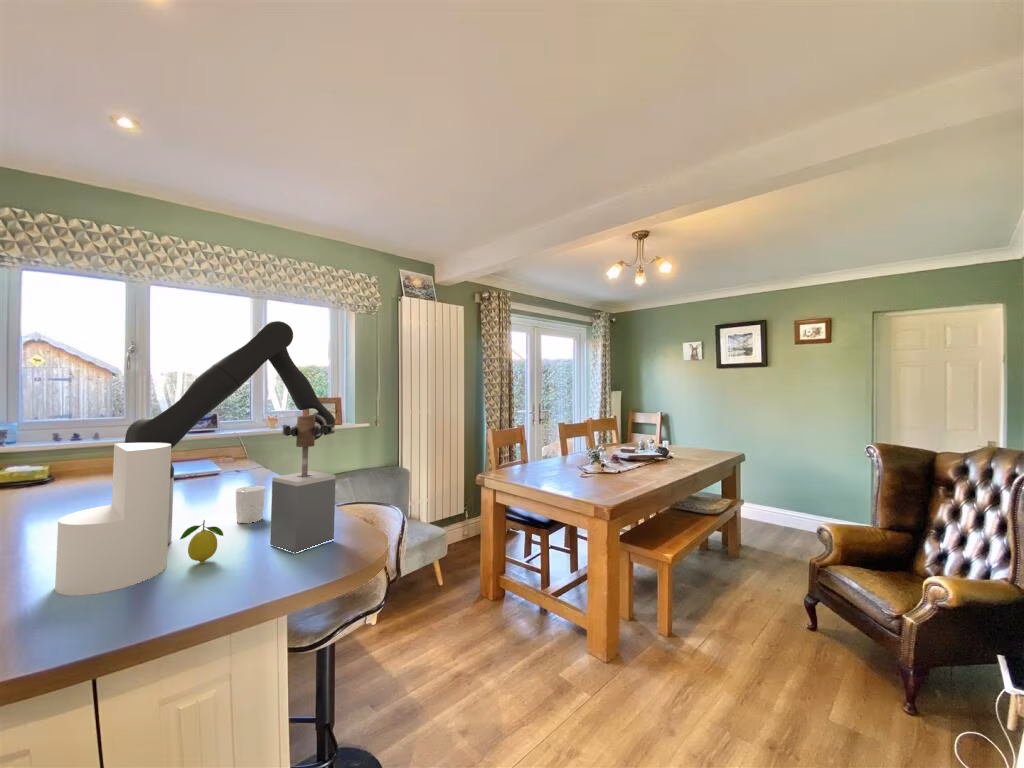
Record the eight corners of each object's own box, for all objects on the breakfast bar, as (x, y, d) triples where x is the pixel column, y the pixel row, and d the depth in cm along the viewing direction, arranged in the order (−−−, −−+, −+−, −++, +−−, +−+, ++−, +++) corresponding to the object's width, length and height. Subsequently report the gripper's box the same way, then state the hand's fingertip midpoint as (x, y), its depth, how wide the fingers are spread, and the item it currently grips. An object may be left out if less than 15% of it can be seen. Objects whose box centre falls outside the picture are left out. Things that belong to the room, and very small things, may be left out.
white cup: (253, 524, 123) (254, 491, 124) (228, 524, 124) (229, 491, 124) (269, 517, 131) (270, 486, 132) (245, 516, 131) (246, 485, 132)
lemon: (178, 569, 92) (180, 525, 92) (191, 559, 98) (192, 517, 98) (212, 566, 94) (214, 523, 94) (223, 556, 99) (224, 515, 100)
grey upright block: (295, 554, 101) (297, 482, 102) (270, 545, 107) (272, 477, 107) (333, 541, 111) (335, 475, 111) (309, 533, 116) (310, 470, 117)
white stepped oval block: (158, 554, 100) (162, 440, 101) (175, 574, 90) (179, 447, 90) (52, 577, 87) (58, 446, 88) (57, 605, 76) (64, 455, 77)
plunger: (298, 522, 104) (301, 417, 105) (281, 518, 108) (284, 416, 108) (325, 515, 110) (327, 416, 111) (307, 511, 114) (310, 415, 115)
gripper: (285, 414, 121) (274, 418, 105) (337, 414, 126) (334, 417, 110) (285, 440, 121) (273, 447, 105) (337, 438, 126) (333, 445, 109)
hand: (304, 432), depth 107 cm, fingers closed on plunger, 4 cm apart
